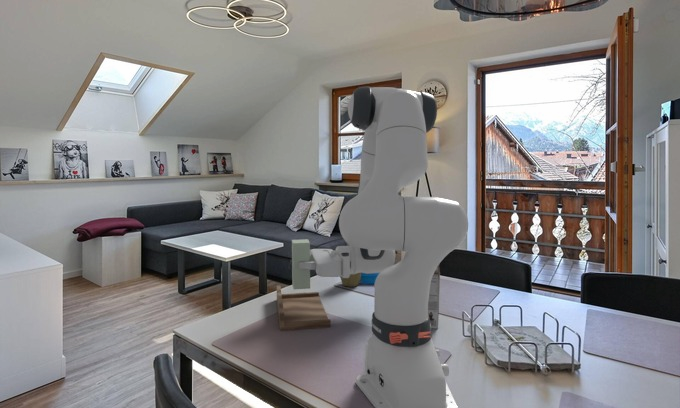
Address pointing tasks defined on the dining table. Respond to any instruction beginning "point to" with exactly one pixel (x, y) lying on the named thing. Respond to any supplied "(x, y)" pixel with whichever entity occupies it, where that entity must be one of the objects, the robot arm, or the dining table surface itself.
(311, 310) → the tray
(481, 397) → the dining table surface
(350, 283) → the squeeze bottle
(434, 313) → the coffee box
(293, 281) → the sage block
